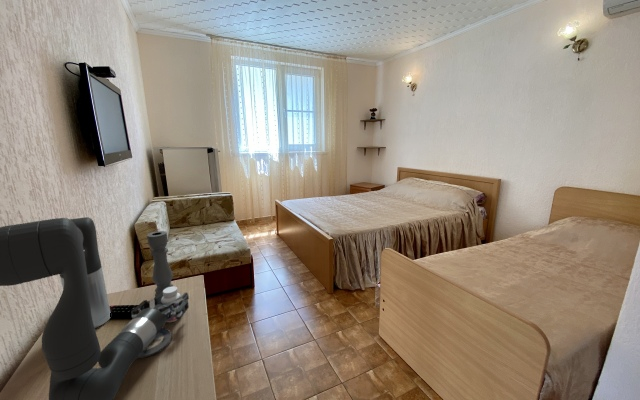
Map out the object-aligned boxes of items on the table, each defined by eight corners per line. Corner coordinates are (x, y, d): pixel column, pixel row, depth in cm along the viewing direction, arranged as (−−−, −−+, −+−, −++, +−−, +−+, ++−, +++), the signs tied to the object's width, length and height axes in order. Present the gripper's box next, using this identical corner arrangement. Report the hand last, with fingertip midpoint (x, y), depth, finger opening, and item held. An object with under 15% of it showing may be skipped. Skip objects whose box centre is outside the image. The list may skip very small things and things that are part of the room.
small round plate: (119, 353, 69) (118, 349, 68) (153, 328, 78) (153, 325, 78) (146, 363, 66) (146, 359, 65) (179, 336, 75) (179, 332, 74)
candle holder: (161, 296, 95) (151, 231, 89) (179, 295, 95) (170, 230, 90) (152, 306, 89) (141, 237, 83) (171, 305, 89) (162, 236, 84)
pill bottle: (174, 324, 80) (170, 295, 78) (159, 321, 81) (155, 293, 79) (186, 313, 85) (183, 286, 83) (172, 310, 86) (168, 284, 84)
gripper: (167, 318, 67) (195, 284, 83) (111, 318, 67) (150, 284, 83) (170, 343, 69) (198, 305, 85) (115, 343, 68) (153, 305, 85)
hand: (174, 295), depth 84 cm, fingers open, 7 cm apart
